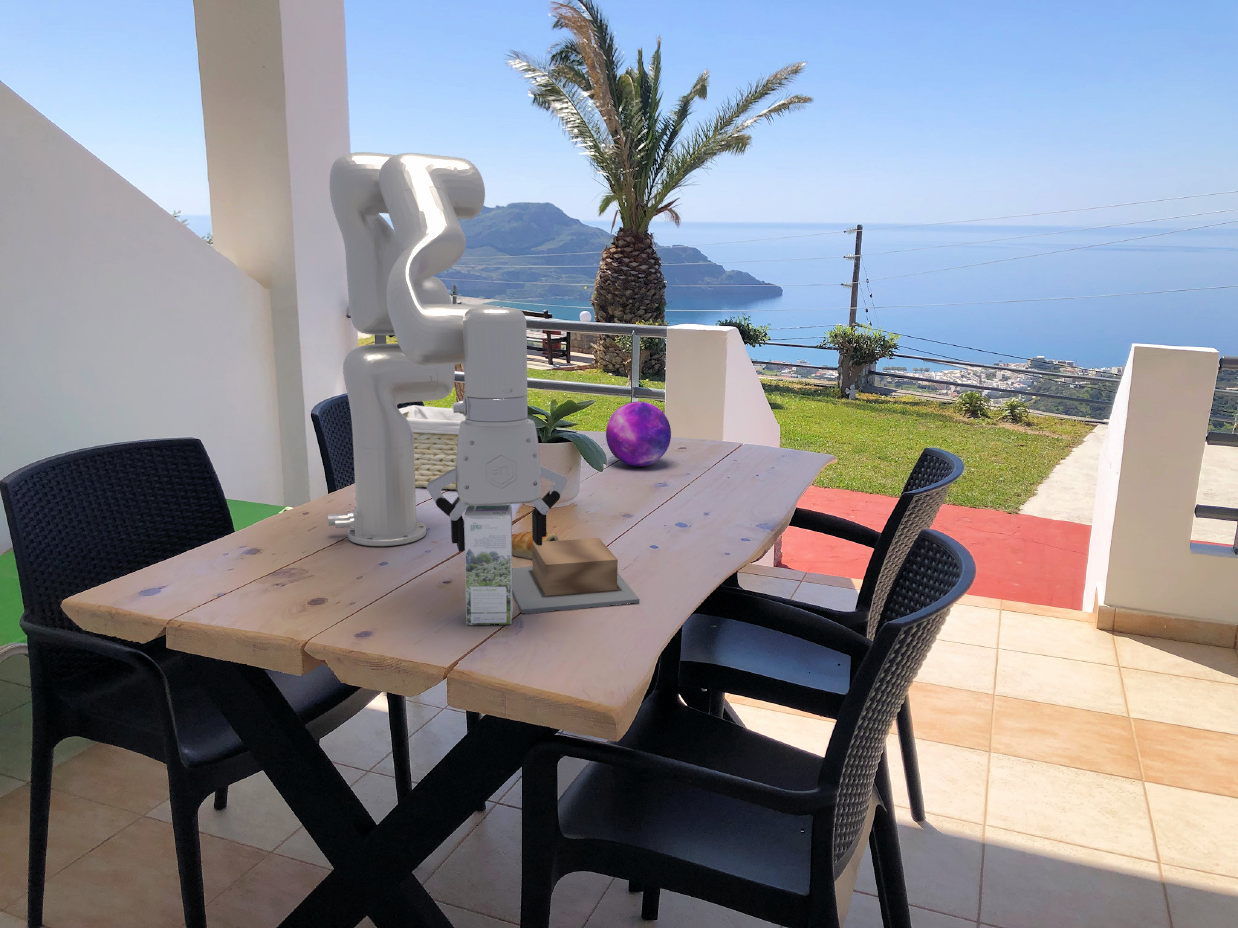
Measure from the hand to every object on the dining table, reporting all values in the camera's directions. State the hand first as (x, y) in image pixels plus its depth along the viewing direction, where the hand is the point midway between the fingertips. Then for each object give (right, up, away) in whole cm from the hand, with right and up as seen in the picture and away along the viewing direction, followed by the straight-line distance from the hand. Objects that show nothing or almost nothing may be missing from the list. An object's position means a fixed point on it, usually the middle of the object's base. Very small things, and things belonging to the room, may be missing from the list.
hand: (499, 545), depth 106 cm
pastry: (+1, -4, +28) cm, 28 cm away
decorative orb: (+19, +10, +91) cm, 93 cm away
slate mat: (+8, -7, +13) cm, 17 cm away
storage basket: (-22, +6, +72) cm, 76 cm away
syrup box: (-1, -10, +2) cm, 10 cm away
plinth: (+9, -7, +14) cm, 18 cm away
